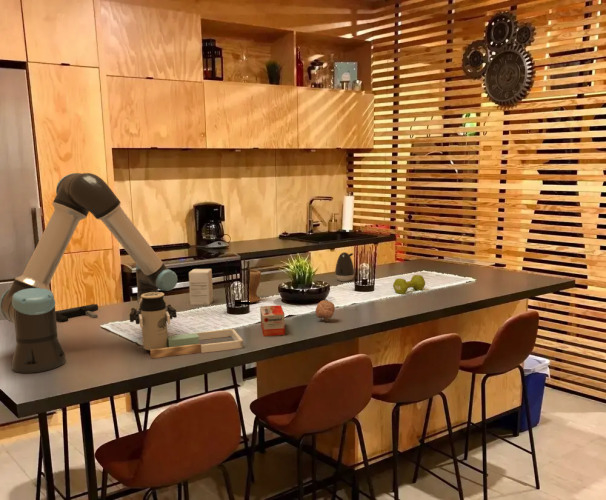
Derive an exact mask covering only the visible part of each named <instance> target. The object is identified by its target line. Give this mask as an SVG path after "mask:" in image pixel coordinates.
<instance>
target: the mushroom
mask: <svg viewBox="0 0 606 500" xmlns="http://www.w3.org/2000/svg"><path fill="white" fill-rule="evenodd" d="M335 310H336V307H335V304H334V303H333V302H332V301H329V300H325V299H324V300H321V301H320V302H318V303H317V305H316V308H315V316H316V317H317V318H318V319H323V320H324V321H325V322H326V323H327V322H328V320H329V319H331V318H332V317H333V316H334V313H335Z"/></svg>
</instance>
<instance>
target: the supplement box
mask: <svg viewBox="0 0 606 500" xmlns="http://www.w3.org/2000/svg"><path fill="white" fill-rule="evenodd" d="M212 272H213V271H212V268H194V269H192V270H190V271H189V272H188V283H189V284H188V285H189V301H190V303H189V304H190V306H200V305H201V306H202V305H203V306H206V305H207V306H209V305H211V304H212V302H213V301H214V293H213V292H214V291H213V290H214V289H213V273H212Z"/></svg>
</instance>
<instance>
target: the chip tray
mask: <svg viewBox="0 0 606 500" xmlns="http://www.w3.org/2000/svg"><path fill="white" fill-rule="evenodd" d="M196 333H197V334H198V336H199V341H203V340H209V339H210V340H211V339H219V338H229V337H231V338H232V340H229V341H222V342H214V343H213V342H212V343H205V344H201V352H200V353H202V354H203V353H204V354H205V353H213V352H220V351H228V350H230V351H231V350H237V349H238V350H239V349H244V340H243V338H242V337H241V336H240V335H239V333H237V331H236V330H235V329H234V328H228V329H227V328H226V329H216V330H209V331H199V332H196Z"/></svg>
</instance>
